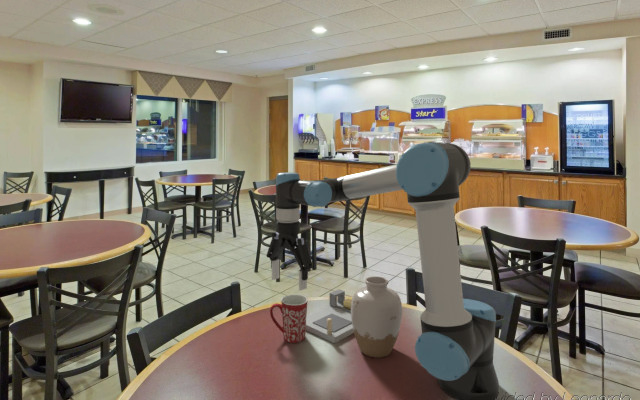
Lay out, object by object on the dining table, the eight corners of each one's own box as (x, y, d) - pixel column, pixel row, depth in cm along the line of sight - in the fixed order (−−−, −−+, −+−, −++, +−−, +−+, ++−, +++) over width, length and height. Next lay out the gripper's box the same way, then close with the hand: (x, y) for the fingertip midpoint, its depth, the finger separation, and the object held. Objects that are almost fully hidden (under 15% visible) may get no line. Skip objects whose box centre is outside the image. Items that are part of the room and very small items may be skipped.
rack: (376, 320, 141) (376, 302, 140) (334, 343, 124) (334, 322, 123) (338, 305, 154) (338, 289, 153) (295, 324, 137) (294, 306, 136)
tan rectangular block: (362, 311, 143) (362, 303, 143) (357, 314, 141) (357, 305, 141) (348, 306, 148) (348, 298, 148) (343, 308, 146) (343, 300, 146)
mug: (309, 331, 132) (308, 294, 131) (307, 344, 123) (306, 305, 122) (273, 330, 133) (272, 293, 131) (268, 344, 124) (267, 304, 122)
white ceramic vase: (362, 333, 131) (363, 269, 128) (407, 345, 123) (409, 277, 120) (341, 354, 118) (342, 283, 115) (390, 369, 110) (392, 293, 107)
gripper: (324, 224, 117) (323, 290, 120) (272, 214, 134) (273, 272, 137) (306, 228, 112) (306, 297, 114) (255, 217, 129) (256, 277, 132)
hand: (288, 283), depth 126 cm, fingers open, 13 cm apart
